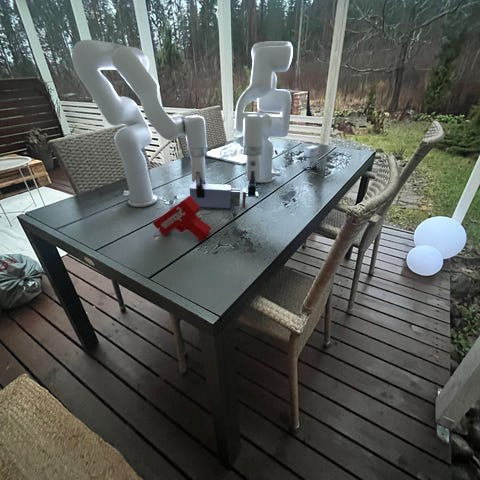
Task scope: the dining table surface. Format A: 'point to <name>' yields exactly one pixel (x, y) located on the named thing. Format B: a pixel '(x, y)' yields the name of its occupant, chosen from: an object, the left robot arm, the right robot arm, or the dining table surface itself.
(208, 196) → the cabinet
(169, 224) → the toy gun
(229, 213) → the dining table surface
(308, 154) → the ink box
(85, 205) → the dining table surface
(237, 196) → the drawer
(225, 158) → the relief map
